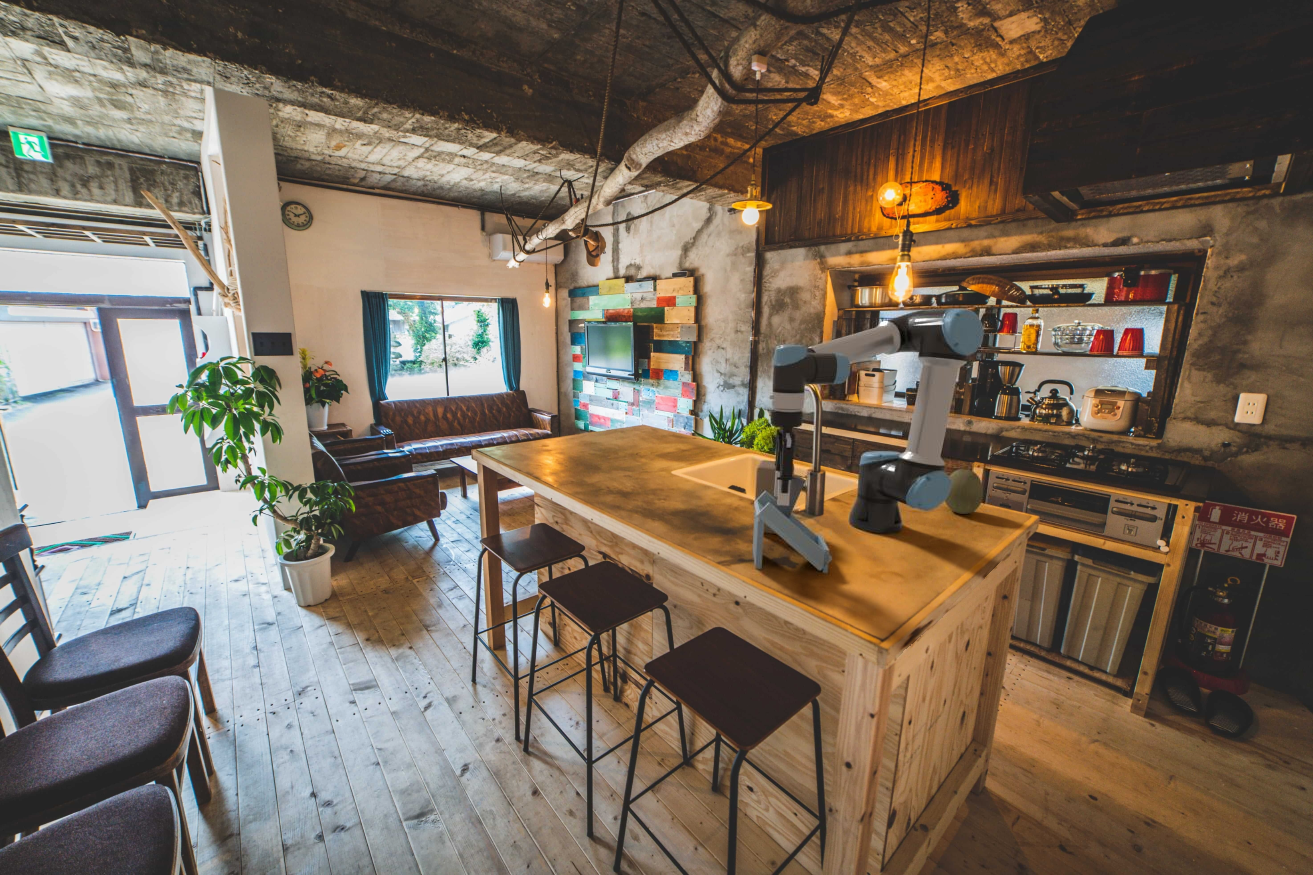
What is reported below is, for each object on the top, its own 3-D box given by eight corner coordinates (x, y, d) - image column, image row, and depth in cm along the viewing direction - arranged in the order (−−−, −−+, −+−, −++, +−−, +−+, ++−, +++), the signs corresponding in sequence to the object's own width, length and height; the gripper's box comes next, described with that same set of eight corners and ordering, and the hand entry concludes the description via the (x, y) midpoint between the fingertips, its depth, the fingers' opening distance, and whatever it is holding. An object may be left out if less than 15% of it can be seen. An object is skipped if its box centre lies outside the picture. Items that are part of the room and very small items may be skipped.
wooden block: (790, 525, 157) (794, 462, 153) (787, 536, 148) (792, 470, 144) (757, 521, 160) (761, 459, 156) (753, 532, 151) (756, 466, 147)
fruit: (935, 511, 171) (940, 468, 168) (947, 504, 178) (952, 463, 175) (973, 521, 163) (980, 475, 160) (984, 513, 170) (991, 469, 167)
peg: (786, 519, 132) (804, 477, 129) (788, 525, 128) (806, 482, 125) (771, 514, 132) (788, 472, 129) (772, 520, 128) (790, 477, 125)
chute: (822, 555, 136) (828, 493, 132) (831, 573, 125) (837, 506, 122) (751, 551, 138) (754, 490, 134) (754, 568, 127) (757, 502, 124)
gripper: (767, 403, 134) (762, 488, 138) (775, 415, 115) (770, 512, 120) (796, 404, 133) (791, 489, 138) (809, 415, 114) (802, 514, 119)
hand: (781, 500), depth 129 cm, fingers open, 6 cm apart
